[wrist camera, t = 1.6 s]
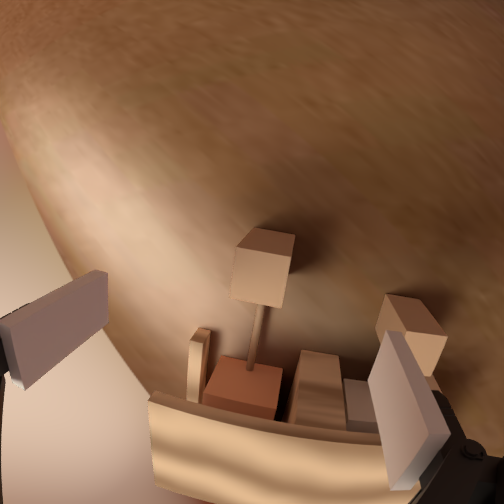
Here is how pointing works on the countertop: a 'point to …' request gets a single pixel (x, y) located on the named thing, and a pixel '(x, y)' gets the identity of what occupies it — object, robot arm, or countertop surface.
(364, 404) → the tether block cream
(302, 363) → the shelf
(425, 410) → the robot arm
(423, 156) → the countertop surface
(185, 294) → the countertop surface
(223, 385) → the tether block terracotta
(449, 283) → the countertop surface
